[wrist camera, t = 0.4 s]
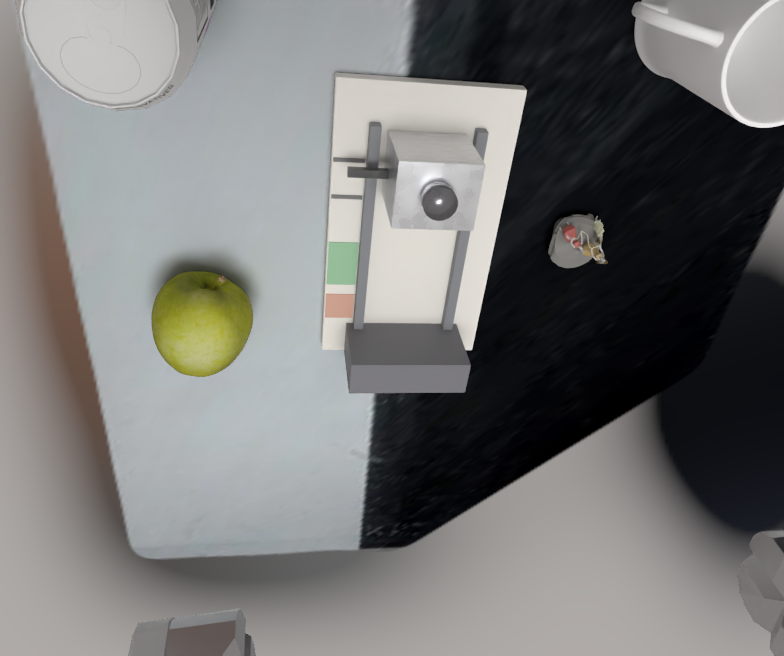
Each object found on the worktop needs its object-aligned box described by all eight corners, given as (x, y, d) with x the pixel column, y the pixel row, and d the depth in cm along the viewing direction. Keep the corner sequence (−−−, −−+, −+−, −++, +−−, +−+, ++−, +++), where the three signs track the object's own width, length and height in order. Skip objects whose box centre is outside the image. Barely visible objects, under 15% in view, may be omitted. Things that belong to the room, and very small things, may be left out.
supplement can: (209, 60, 47) (182, 137, 35) (81, 26, 45) (6, 96, 33) (227, -71, 42) (204, -35, 30) (86, -115, 40) (2, -95, 28)
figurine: (557, 269, 60) (588, 297, 55) (529, 236, 58) (559, 263, 53) (603, 228, 60) (639, 253, 54) (577, 194, 57) (612, 216, 52)
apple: (263, 256, 56) (260, 310, 50) (244, 342, 61) (239, 401, 55) (166, 237, 54) (149, 291, 48) (154, 328, 59) (137, 387, 53)
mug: (574, 42, 49) (644, 92, 40) (635, -87, 45) (731, -67, 35) (703, 91, 53) (797, 148, 43) (772, -25, 48) (893, 10, 39)
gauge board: (335, 72, 48) (341, 104, 42) (522, 85, 51) (553, 117, 45) (321, 341, 62) (325, 393, 56) (469, 342, 64) (487, 392, 59)
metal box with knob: (347, 127, 49) (355, 165, 44) (466, 134, 51) (489, 172, 45) (343, 191, 52) (350, 234, 46) (456, 195, 54) (477, 238, 48)
